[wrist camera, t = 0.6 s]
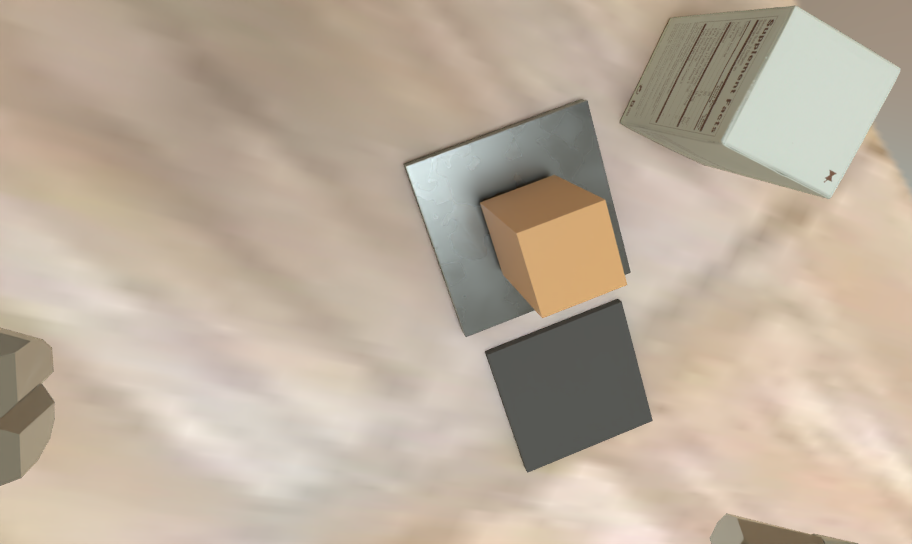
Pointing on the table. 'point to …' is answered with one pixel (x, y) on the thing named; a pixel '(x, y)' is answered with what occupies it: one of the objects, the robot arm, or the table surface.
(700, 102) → the supplement box
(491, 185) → the post stand
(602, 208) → the tan rectangular pillar
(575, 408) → the mat
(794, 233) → the table surface
